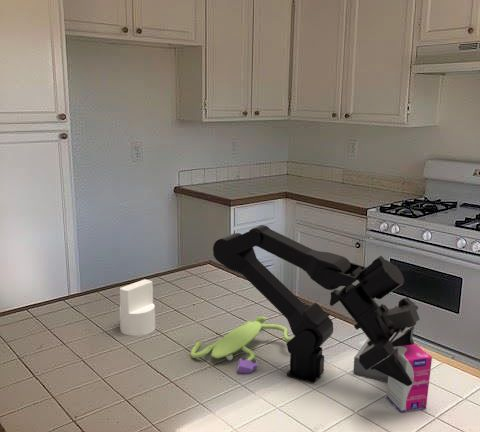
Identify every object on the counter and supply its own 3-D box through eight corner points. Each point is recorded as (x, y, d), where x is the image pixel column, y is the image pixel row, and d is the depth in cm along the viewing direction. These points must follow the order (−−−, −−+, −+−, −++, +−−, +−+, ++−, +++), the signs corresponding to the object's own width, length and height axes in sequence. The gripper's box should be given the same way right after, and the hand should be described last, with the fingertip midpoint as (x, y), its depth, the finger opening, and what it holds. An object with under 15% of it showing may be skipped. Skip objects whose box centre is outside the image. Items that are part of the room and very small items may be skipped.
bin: (353, 373, 120) (354, 357, 119) (368, 352, 129) (369, 336, 129) (407, 387, 114) (408, 370, 113) (418, 364, 124) (419, 348, 123)
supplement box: (401, 414, 105) (406, 359, 102) (385, 397, 110) (389, 345, 108) (427, 409, 106) (432, 356, 104) (410, 393, 112) (415, 342, 109)
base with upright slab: (136, 339, 135) (135, 293, 133) (113, 329, 141) (110, 285, 138) (162, 327, 142) (161, 283, 140) (139, 318, 148) (137, 276, 145)
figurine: (316, 349, 132) (317, 327, 131) (232, 386, 115) (232, 362, 114) (264, 324, 145) (264, 305, 144) (182, 354, 128) (181, 332, 127)
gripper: (379, 305, 97) (437, 378, 94) (408, 276, 113) (459, 338, 109) (336, 335, 103) (389, 404, 100) (369, 303, 119) (416, 363, 115)
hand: (416, 375), depth 106 cm, fingers closed on supplement box, 8 cm apart
